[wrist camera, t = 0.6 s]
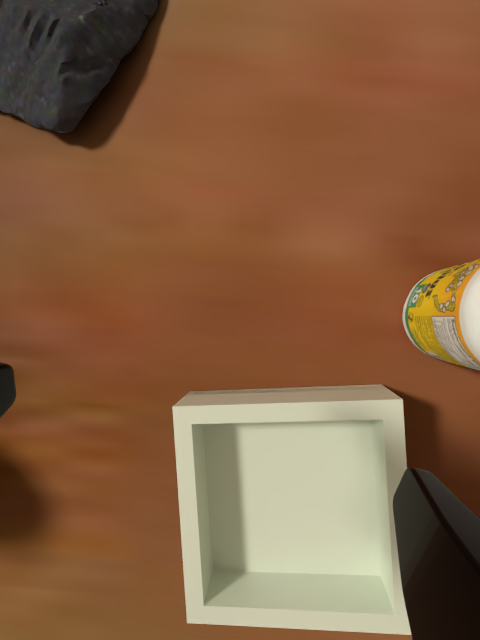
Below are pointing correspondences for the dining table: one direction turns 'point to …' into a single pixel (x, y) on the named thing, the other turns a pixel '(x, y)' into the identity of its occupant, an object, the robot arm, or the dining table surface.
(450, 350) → the supplement bottle
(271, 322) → the dining table surface
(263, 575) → the bin
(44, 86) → the dark slate chunk
